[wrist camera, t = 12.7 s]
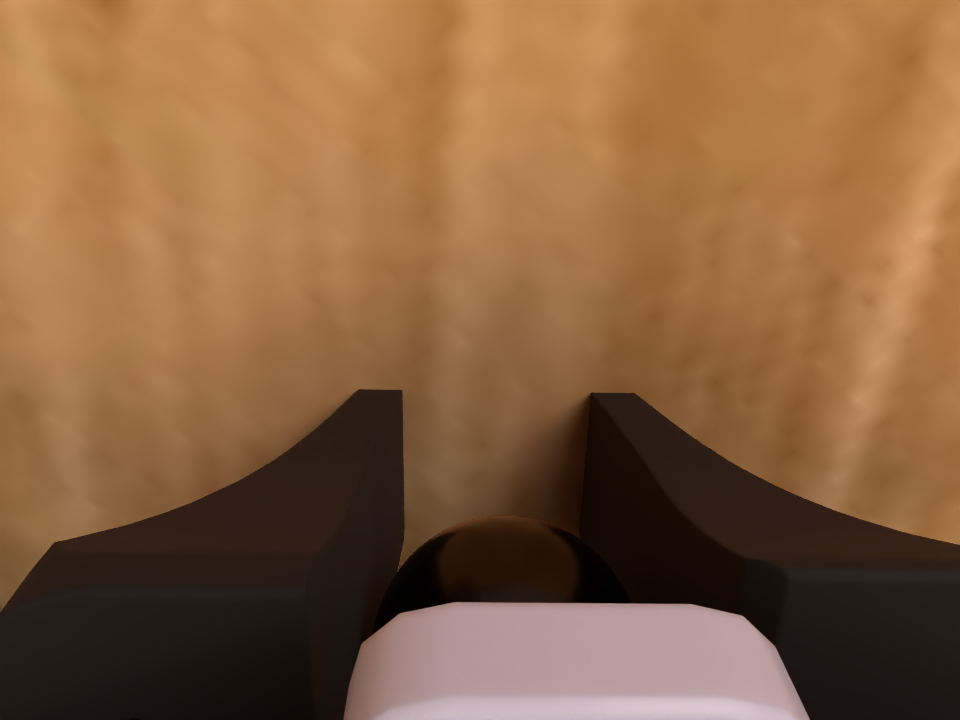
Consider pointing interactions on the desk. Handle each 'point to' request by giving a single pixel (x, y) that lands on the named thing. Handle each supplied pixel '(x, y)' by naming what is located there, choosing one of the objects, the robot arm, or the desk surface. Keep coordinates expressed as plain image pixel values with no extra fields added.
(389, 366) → the desk surface
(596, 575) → the lever
